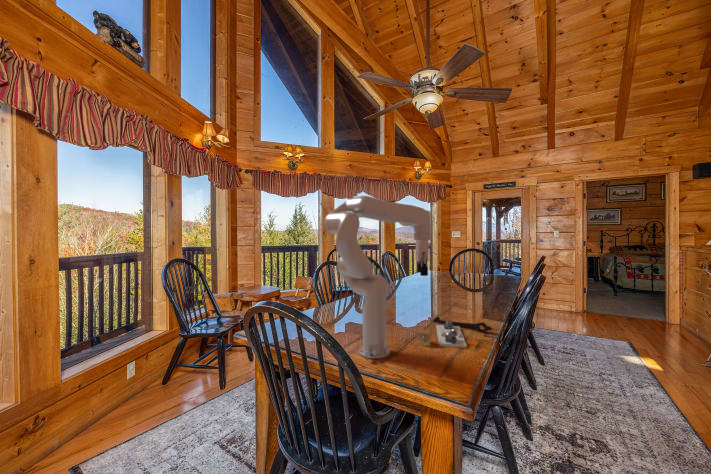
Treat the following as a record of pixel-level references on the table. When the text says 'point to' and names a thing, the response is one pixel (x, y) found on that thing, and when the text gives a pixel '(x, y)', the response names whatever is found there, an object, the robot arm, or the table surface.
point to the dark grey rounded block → (451, 336)
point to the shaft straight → (448, 324)
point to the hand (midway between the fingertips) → (422, 273)
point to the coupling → (424, 337)
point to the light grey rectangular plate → (442, 333)
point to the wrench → (466, 325)
